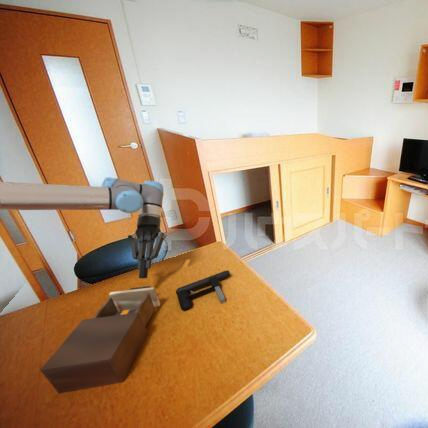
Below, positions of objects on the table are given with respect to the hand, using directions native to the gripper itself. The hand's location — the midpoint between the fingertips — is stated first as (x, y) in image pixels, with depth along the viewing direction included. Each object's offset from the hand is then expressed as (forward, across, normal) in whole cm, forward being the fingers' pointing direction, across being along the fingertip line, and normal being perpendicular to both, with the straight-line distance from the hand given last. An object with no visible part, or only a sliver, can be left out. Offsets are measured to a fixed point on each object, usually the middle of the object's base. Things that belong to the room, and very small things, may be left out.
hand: (143, 277), depth 88 cm
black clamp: (+9, -22, -3) cm, 24 cm away
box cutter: (+14, 0, +5) cm, 15 cm away
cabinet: (+24, 0, +13) cm, 28 cm away
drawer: (+13, 0, +3) cm, 14 cm away
